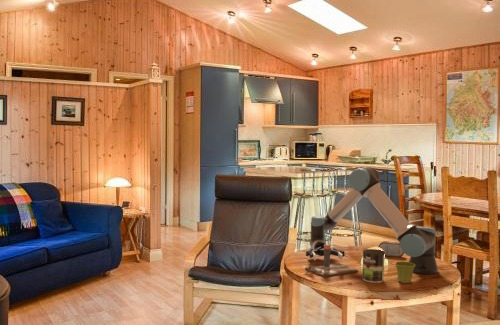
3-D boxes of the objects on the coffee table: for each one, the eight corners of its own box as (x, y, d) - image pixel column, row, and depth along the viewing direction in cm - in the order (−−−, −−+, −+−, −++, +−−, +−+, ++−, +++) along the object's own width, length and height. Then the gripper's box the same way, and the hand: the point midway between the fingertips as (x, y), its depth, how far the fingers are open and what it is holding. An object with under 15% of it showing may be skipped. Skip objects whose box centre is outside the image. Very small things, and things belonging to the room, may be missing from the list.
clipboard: (358, 271, 255) (358, 267, 255) (324, 277, 244) (324, 273, 244) (338, 264, 269) (338, 260, 269) (305, 269, 258) (305, 265, 258)
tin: (404, 256, 289) (405, 242, 288) (404, 258, 286) (404, 243, 285) (378, 254, 294) (378, 240, 294) (377, 255, 291) (378, 241, 291)
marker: (331, 270, 253) (332, 245, 252) (326, 271, 251) (326, 245, 251) (327, 268, 256) (327, 243, 255) (322, 269, 254) (322, 244, 253)
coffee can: (376, 284, 234) (377, 255, 233) (358, 279, 241) (358, 251, 241) (387, 280, 241) (388, 251, 240) (369, 275, 249) (370, 248, 248)
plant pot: (414, 285, 233) (415, 267, 233) (393, 283, 237) (394, 265, 236) (414, 279, 242) (415, 262, 242) (394, 277, 245) (395, 260, 245)
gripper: (342, 254, 272) (352, 264, 251) (297, 254, 271) (303, 264, 250) (343, 241, 271) (352, 250, 250) (298, 241, 270) (304, 250, 249)
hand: (328, 257), depth 250 cm, fingers open, 13 cm apart
